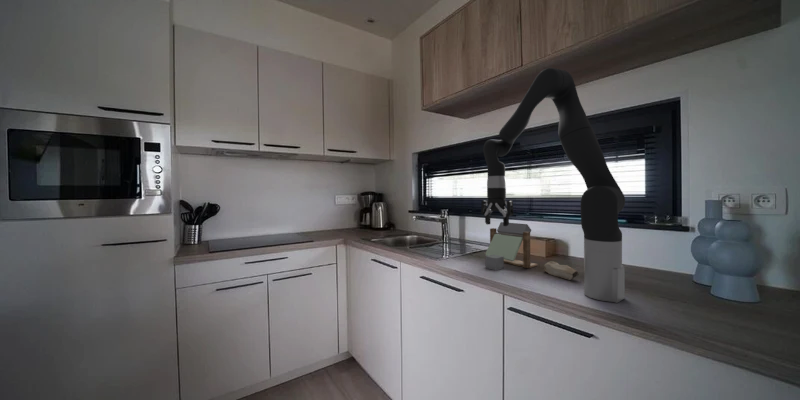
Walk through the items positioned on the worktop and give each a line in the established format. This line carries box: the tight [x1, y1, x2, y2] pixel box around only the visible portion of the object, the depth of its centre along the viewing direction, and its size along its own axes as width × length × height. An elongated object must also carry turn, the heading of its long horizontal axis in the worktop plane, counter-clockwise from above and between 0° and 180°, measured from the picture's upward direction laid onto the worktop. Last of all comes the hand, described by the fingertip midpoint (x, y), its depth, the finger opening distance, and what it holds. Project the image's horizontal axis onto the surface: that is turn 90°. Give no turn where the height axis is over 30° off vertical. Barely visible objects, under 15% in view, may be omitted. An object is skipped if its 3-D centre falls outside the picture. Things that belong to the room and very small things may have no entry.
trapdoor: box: [484, 221, 532, 261], centre depth 124 cm, size 14×18×4 cm
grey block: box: [485, 255, 505, 271], centre depth 118 cm, size 5×5×6 cm
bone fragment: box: [543, 260, 579, 281], centre depth 106 cm, size 14×6×5 cm, turn 6°
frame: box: [489, 227, 538, 269], centre depth 126 cm, size 19×7×15 cm, turn 36°
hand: (496, 225), depth 119 cm, fingers open, 8 cm apart
